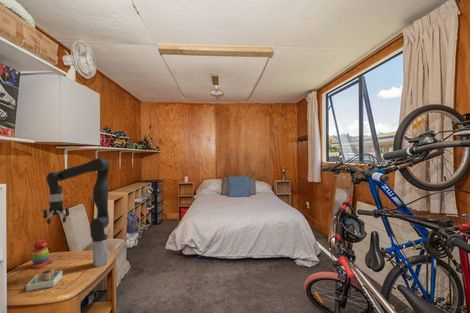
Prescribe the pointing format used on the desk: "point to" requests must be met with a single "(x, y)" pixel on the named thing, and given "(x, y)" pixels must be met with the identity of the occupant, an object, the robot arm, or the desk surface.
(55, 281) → the green crate
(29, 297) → the desk surface
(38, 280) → the oak crate
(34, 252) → the stacking bear
